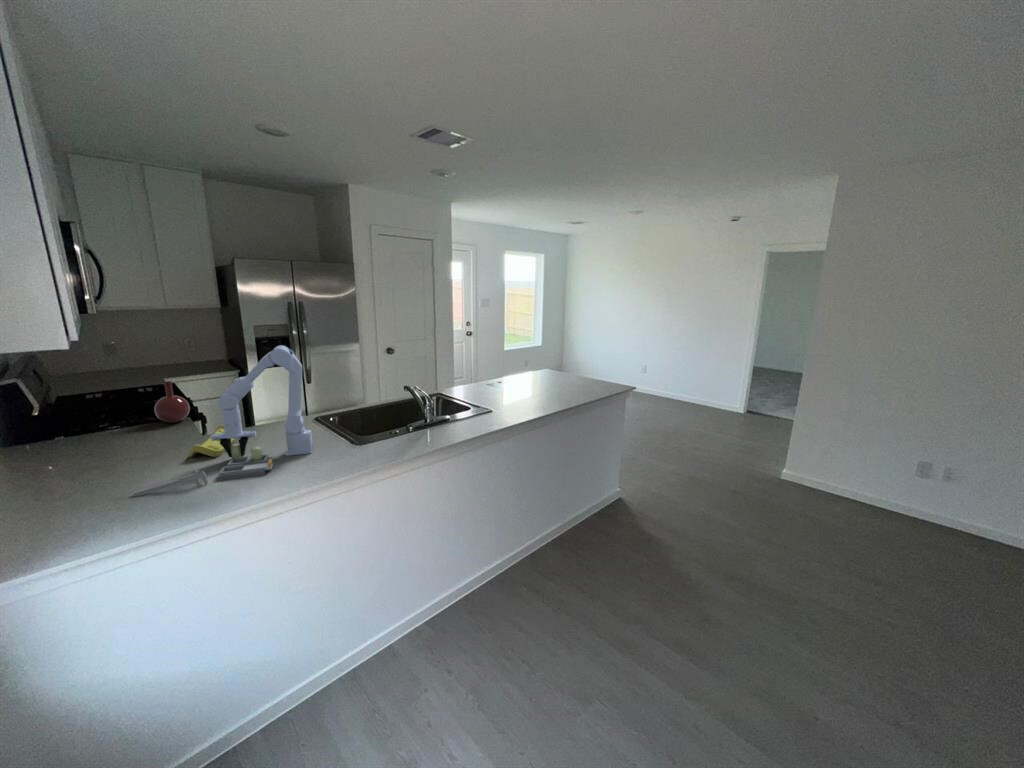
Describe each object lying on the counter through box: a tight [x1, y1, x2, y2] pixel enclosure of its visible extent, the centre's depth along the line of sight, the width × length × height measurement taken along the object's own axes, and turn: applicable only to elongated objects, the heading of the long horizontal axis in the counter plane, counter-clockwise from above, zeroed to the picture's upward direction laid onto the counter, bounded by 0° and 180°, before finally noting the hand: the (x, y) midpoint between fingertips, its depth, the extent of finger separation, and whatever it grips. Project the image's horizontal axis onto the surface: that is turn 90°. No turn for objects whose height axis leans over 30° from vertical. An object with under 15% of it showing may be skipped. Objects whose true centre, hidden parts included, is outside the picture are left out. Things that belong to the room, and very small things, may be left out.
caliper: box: [128, 468, 208, 498], centre depth 132 cm, size 20×1×6 cm, turn 117°
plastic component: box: [187, 424, 237, 458], centre depth 166 cm, size 20×7×10 cm
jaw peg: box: [230, 443, 244, 459], centre depth 156 cm, size 4×4×6 cm
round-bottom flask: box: [153, 380, 191, 423], centre depth 192 cm, size 13×13×20 cm
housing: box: [218, 446, 273, 480], centre depth 148 cm, size 14×13×7 cm
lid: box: [242, 458, 274, 471], centre depth 146 cm, size 9×4×3 cm, turn 110°
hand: (237, 455), depth 157 cm, fingers closed on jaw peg, 4 cm apart
